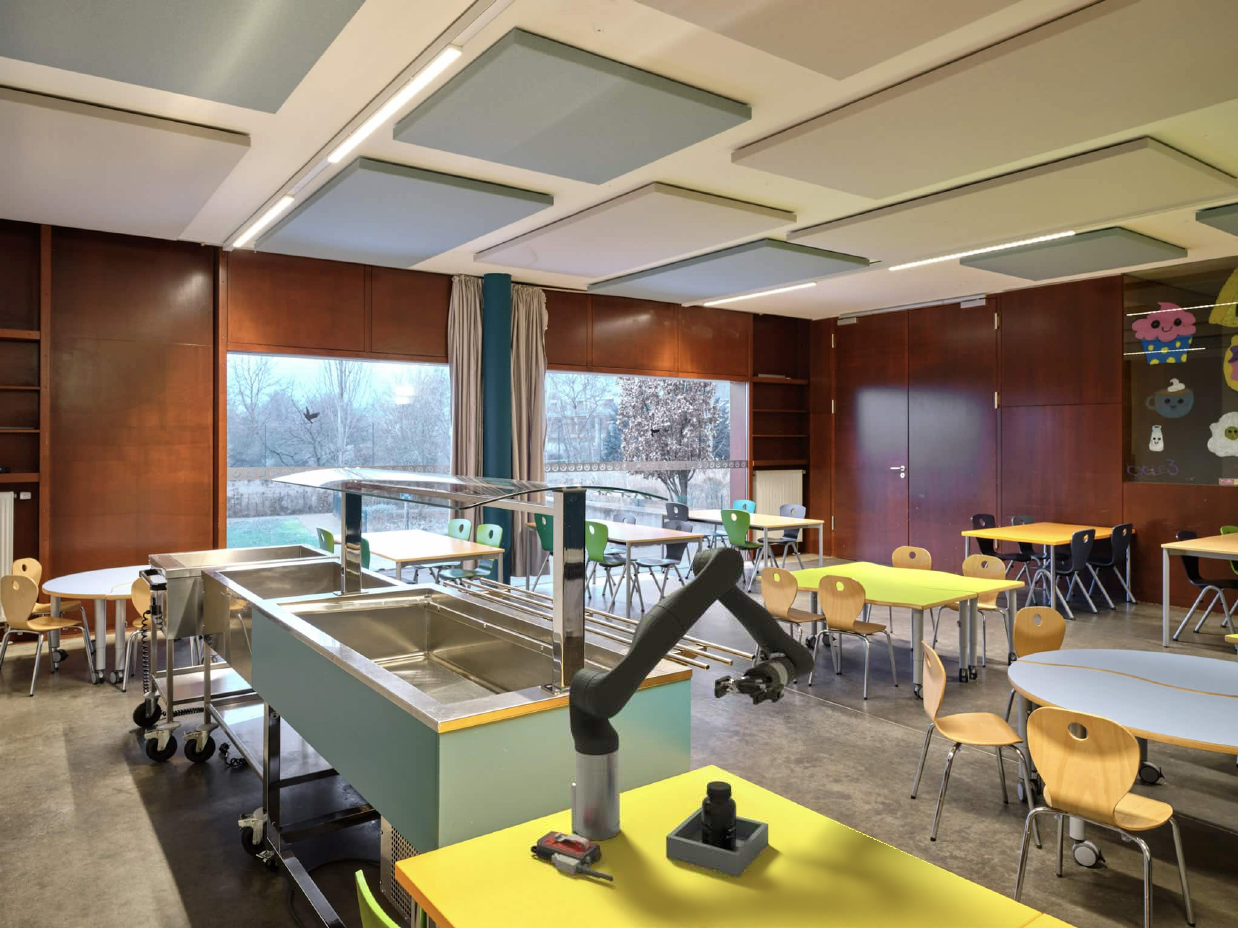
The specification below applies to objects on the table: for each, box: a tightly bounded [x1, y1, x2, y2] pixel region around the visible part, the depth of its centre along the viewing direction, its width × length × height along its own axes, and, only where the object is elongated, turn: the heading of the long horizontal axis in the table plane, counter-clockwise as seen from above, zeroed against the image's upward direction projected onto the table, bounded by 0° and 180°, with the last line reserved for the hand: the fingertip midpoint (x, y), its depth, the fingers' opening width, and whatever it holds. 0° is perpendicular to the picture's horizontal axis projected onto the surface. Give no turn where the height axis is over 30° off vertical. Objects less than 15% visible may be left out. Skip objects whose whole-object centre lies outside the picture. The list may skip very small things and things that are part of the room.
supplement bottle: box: [701, 780, 737, 851], centre depth 156 cm, size 7×7×12 cm
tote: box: [665, 806, 769, 879], centre depth 156 cm, size 15×15×4 cm
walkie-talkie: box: [530, 830, 614, 882], centre depth 151 cm, size 9×4×20 cm
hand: (735, 696), depth 165 cm, fingers open, 8 cm apart
